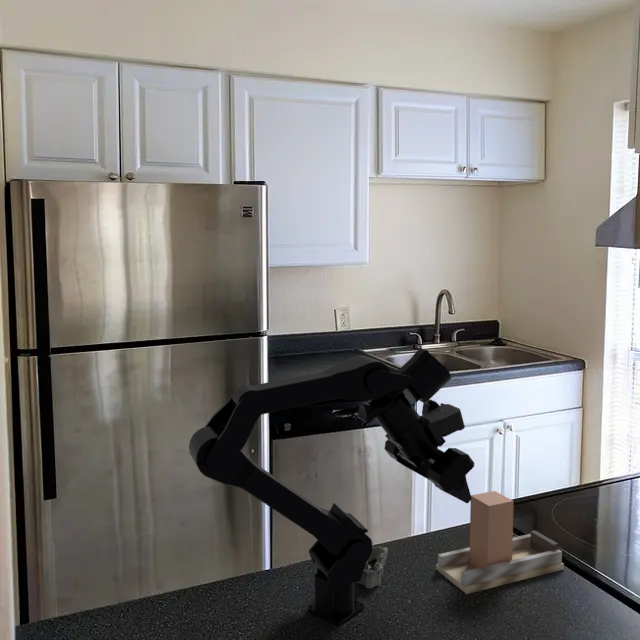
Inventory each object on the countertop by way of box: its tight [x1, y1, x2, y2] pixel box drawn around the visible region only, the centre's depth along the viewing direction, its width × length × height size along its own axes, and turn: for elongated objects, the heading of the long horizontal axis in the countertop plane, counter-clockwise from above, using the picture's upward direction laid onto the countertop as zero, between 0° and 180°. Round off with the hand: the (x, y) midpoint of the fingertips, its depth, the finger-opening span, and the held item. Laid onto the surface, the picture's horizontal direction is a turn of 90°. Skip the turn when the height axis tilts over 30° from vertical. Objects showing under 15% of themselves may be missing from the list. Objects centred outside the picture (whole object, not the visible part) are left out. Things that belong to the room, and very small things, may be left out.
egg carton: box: [357, 545, 389, 589], centre depth 114 cm, size 11×8×4 cm
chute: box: [435, 530, 565, 595], centre depth 114 cm, size 20×9×4 cm, turn 113°
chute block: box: [469, 490, 515, 568], centre depth 113 cm, size 5×5×12 cm
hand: (453, 490), depth 108 cm, fingers open, 9 cm apart
